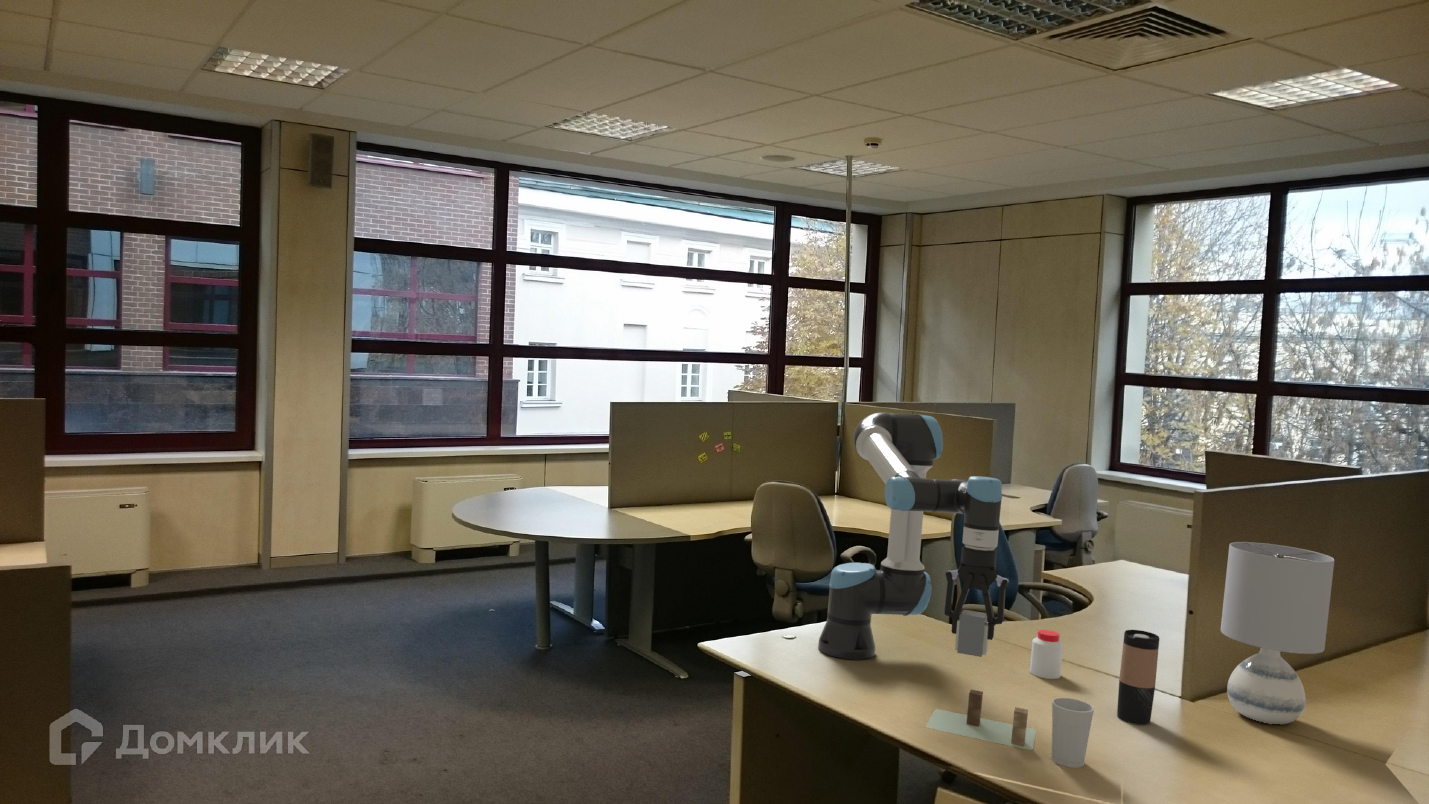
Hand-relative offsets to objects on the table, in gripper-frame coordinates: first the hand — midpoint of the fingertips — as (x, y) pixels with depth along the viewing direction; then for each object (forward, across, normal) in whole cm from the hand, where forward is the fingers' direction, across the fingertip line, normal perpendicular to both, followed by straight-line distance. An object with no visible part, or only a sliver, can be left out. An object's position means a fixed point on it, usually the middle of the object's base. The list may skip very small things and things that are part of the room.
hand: (971, 650), depth 217 cm
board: (+16, +4, -4) cm, 17 cm away
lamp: (+16, +64, +44) cm, 79 cm away
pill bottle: (+15, +14, +47) cm, 51 cm away
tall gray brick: (0, 0, 0) cm, 0 cm away
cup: (+16, +22, -12) cm, 30 cm away
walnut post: (+15, +2, -2) cm, 16 cm away
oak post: (+16, +12, -8) cm, 21 cm away
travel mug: (+16, +35, +24) cm, 45 cm away
